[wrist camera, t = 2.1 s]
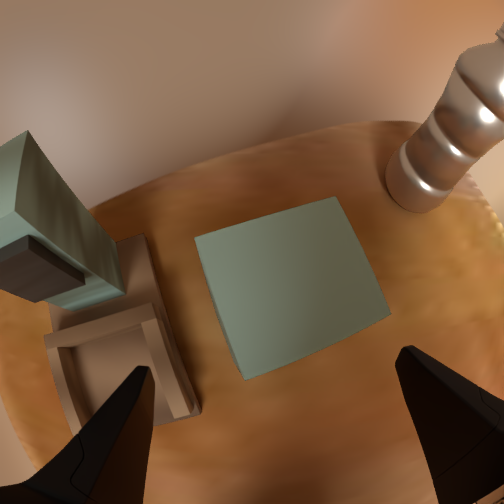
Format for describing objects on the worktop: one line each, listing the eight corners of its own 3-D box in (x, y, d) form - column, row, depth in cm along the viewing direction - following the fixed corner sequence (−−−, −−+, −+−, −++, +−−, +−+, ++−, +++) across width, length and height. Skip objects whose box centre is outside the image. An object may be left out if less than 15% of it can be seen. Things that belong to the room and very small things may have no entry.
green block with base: (201, 411, 16) (156, 508, 4) (90, 434, 14) (-32, 484, 2) (146, 238, 20) (73, 106, 8) (50, 273, 18) (-61, 194, 6)
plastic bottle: (365, 183, 24) (482, -3, 5) (396, 154, 26) (491, 8, 7) (413, 234, 22) (571, 84, 4) (438, 198, 24) (556, 70, 6)
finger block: (296, 339, 18) (391, 313, 7) (234, 362, 18) (245, 380, 6) (272, 278, 20) (327, 180, 9) (211, 299, 19) (188, 218, 8)
